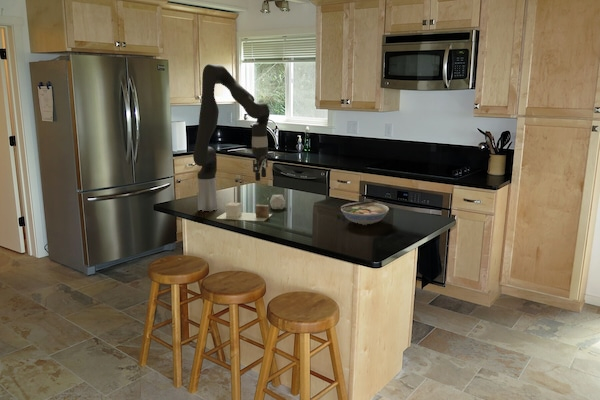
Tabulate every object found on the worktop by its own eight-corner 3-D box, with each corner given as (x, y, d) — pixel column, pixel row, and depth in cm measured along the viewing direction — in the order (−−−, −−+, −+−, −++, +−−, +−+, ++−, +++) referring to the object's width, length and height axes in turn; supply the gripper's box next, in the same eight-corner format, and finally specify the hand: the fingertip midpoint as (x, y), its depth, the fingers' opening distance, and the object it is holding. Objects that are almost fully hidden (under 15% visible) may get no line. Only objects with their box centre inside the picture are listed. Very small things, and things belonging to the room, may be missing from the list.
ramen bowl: (358, 233, 230) (358, 215, 228) (328, 221, 249) (328, 205, 247) (400, 224, 243) (401, 207, 241) (369, 213, 262) (369, 198, 260)
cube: (226, 216, 258) (225, 205, 256) (230, 213, 263) (230, 202, 262) (237, 217, 256) (236, 205, 255) (241, 214, 262) (241, 202, 260)
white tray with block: (215, 219, 255) (215, 206, 254) (226, 212, 268) (225, 200, 266) (264, 222, 249) (263, 209, 248) (272, 215, 261) (272, 202, 260)
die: (279, 213, 268) (289, 197, 269) (265, 205, 268) (275, 189, 269) (280, 215, 276) (289, 199, 277) (266, 207, 276) (275, 191, 277)
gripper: (257, 143, 255) (258, 175, 259) (247, 147, 242) (248, 181, 246) (272, 143, 253) (272, 176, 257) (262, 147, 240) (263, 182, 244)
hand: (260, 178), depth 251 cm, fingers open, 8 cm apart
